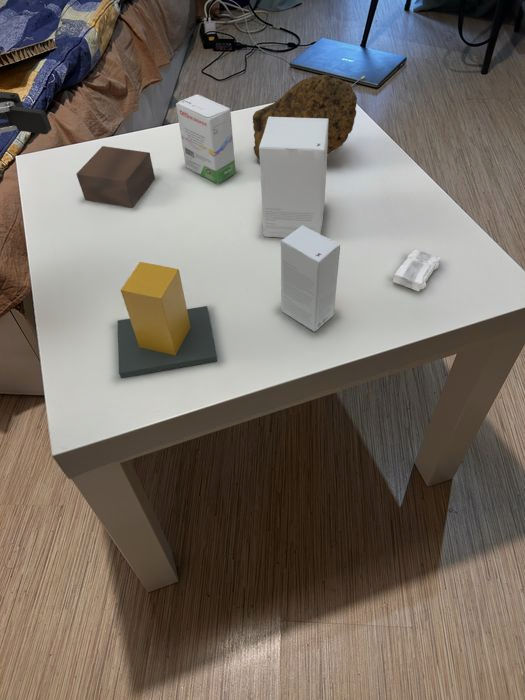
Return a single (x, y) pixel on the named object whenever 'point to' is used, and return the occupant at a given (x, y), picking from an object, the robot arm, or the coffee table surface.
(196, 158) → the ink box
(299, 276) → the cosmetic box
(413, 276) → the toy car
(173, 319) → the mustard block
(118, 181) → the walnut block
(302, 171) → the rectangular carton
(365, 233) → the coffee table surface
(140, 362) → the rubber mat
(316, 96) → the rock
